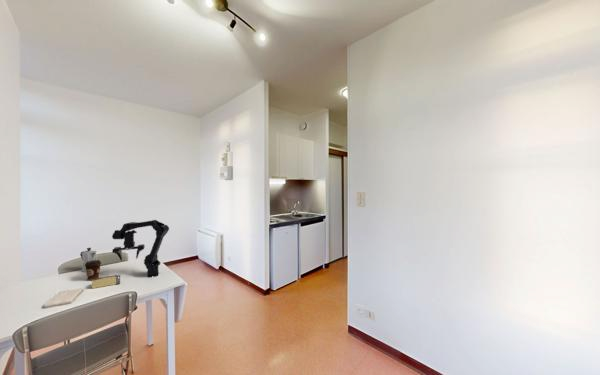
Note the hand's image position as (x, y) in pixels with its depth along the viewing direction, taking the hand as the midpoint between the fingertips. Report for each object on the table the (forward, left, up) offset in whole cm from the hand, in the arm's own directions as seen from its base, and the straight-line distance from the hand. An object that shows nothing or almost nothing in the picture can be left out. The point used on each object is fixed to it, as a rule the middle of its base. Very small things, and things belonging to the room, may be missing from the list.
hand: (129, 259), depth 167 cm
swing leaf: (+10, +14, -12) cm, 21 cm away
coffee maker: (+31, -27, -12) cm, 43 cm away
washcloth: (+27, +24, -13) cm, 38 cm away
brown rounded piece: (+22, -4, -12) cm, 25 cm away
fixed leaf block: (+11, +11, -12) cm, 20 cm away
